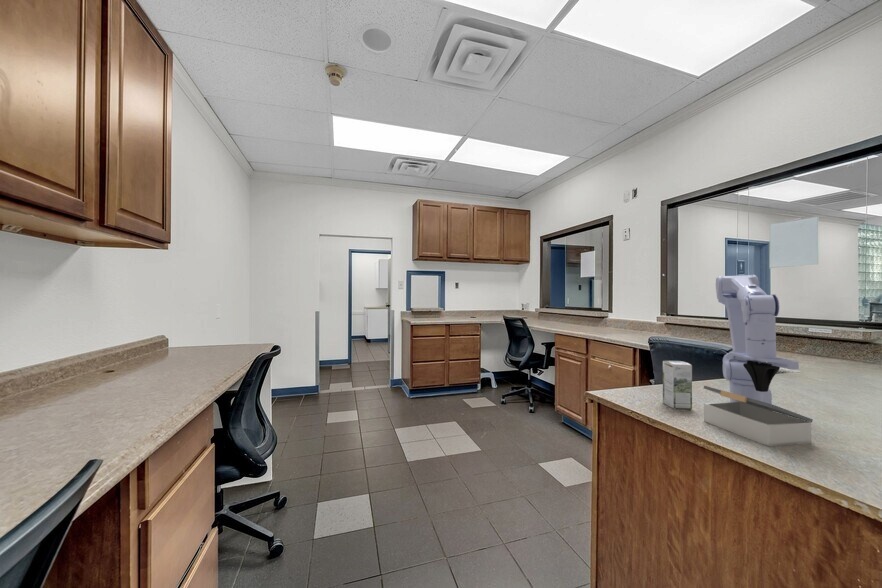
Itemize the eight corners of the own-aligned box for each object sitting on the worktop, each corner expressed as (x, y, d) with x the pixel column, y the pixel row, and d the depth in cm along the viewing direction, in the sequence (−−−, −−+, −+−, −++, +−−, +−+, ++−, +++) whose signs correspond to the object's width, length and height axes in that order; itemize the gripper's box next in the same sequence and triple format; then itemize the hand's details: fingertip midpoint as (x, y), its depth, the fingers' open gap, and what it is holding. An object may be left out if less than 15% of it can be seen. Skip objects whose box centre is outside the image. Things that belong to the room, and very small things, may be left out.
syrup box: (680, 403, 105) (679, 360, 105) (693, 409, 99) (692, 363, 99) (662, 403, 105) (661, 360, 106) (673, 409, 99) (673, 363, 100)
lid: (737, 402, 92) (739, 398, 92) (811, 424, 75) (812, 419, 76) (701, 389, 90) (702, 385, 90) (768, 409, 74) (770, 403, 74)
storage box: (739, 418, 91) (739, 401, 92) (811, 443, 76) (810, 422, 76) (703, 421, 90) (703, 403, 90) (769, 446, 74) (769, 425, 74)
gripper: (719, 337, 90) (720, 384, 90) (781, 343, 76) (782, 400, 75) (740, 336, 91) (741, 383, 91) (804, 343, 77) (806, 398, 76)
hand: (761, 391), depth 83 cm, fingers closed
